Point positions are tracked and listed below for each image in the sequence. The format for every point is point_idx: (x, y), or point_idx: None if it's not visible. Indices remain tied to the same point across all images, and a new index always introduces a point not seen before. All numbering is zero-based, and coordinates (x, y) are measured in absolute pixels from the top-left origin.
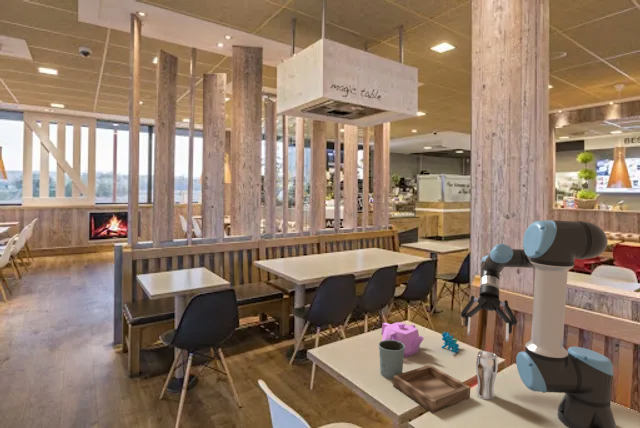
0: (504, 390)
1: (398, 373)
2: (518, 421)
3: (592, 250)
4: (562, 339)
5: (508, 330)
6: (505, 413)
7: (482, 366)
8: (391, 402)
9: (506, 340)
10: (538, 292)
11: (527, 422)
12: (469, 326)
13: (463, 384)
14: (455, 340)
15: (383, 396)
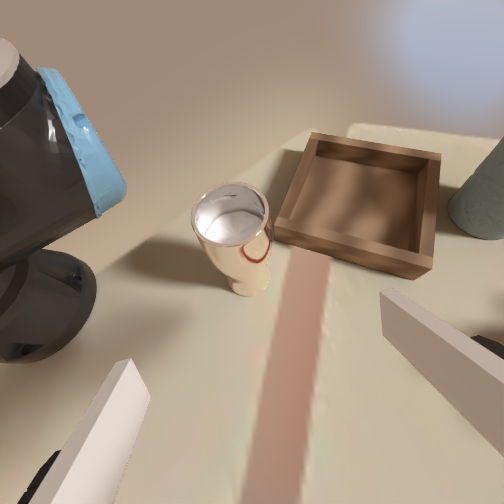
0: (211, 337)
1: (457, 197)
2: (173, 223)
3: None
4: None
5: (73, 433)
6: None
7: (242, 202)
8: (381, 135)
9: (139, 380)
10: None
11: (158, 231)
12: (421, 319)
13: (292, 225)
14: None
15: (407, 139)
